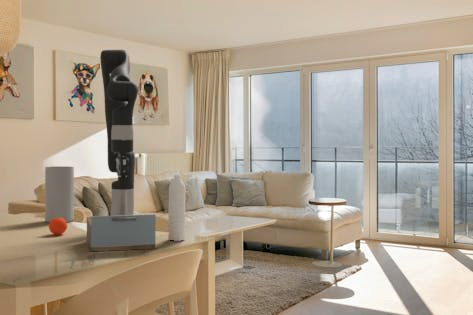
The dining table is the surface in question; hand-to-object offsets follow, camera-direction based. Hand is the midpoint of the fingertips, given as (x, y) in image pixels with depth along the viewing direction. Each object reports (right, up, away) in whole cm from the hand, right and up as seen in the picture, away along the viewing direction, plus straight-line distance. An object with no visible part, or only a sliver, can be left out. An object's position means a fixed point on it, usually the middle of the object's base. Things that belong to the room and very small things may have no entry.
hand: (122, 187), depth 195 cm
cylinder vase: (-42, -19, +62) cm, 77 cm away
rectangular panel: (+2, -20, -5) cm, 21 cm away
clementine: (-31, -20, +26) cm, 45 cm away
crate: (-2, -21, +5) cm, 22 cm away
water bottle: (+18, -21, +17) cm, 33 cm away
